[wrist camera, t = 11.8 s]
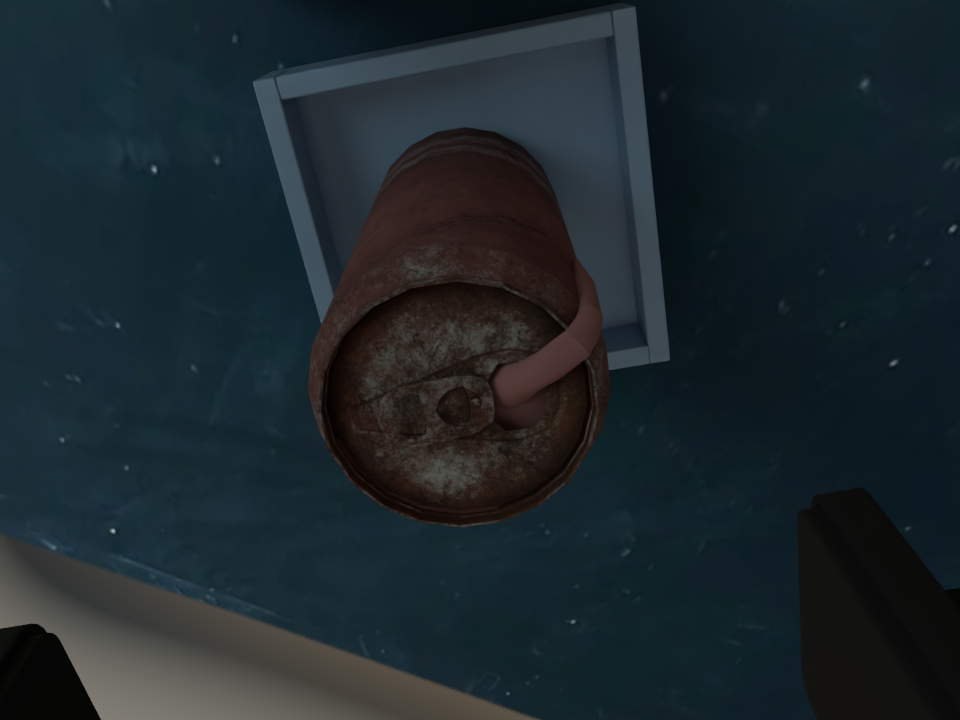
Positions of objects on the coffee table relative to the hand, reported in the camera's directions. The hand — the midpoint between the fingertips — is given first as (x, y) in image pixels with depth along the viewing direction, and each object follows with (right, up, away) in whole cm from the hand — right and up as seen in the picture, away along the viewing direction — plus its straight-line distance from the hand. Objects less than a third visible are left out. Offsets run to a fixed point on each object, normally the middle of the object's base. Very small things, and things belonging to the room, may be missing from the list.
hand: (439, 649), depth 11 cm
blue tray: (0, +9, +19) cm, 21 cm away
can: (0, +9, +18) cm, 20 cm away
